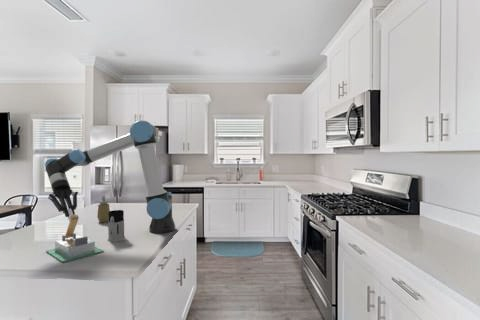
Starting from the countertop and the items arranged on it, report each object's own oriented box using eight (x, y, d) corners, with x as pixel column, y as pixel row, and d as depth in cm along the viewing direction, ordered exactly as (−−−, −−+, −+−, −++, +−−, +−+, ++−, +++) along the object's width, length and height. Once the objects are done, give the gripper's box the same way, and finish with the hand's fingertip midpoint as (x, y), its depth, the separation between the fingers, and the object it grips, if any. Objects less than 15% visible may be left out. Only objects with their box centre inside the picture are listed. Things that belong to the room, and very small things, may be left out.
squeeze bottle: (97, 223, 185) (96, 196, 185) (97, 221, 192) (96, 195, 192) (110, 222, 189) (110, 195, 189) (110, 219, 196) (109, 194, 196)
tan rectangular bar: (65, 239, 133) (64, 235, 134) (72, 237, 136) (71, 233, 137) (72, 219, 128) (70, 215, 129) (79, 218, 130) (77, 214, 131)
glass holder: (126, 236, 155) (126, 209, 155) (120, 244, 141) (119, 214, 141) (110, 237, 154) (109, 210, 153) (102, 245, 140) (101, 215, 139)
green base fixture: (46, 251, 131) (45, 235, 130) (84, 242, 144) (84, 227, 143) (62, 263, 116) (62, 244, 116) (103, 252, 130) (103, 235, 129)
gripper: (72, 187, 148) (85, 223, 137) (43, 189, 138) (54, 228, 127) (75, 178, 144) (89, 214, 134) (46, 179, 134) (58, 219, 124)
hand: (72, 221), depth 131 cm, fingers closed
